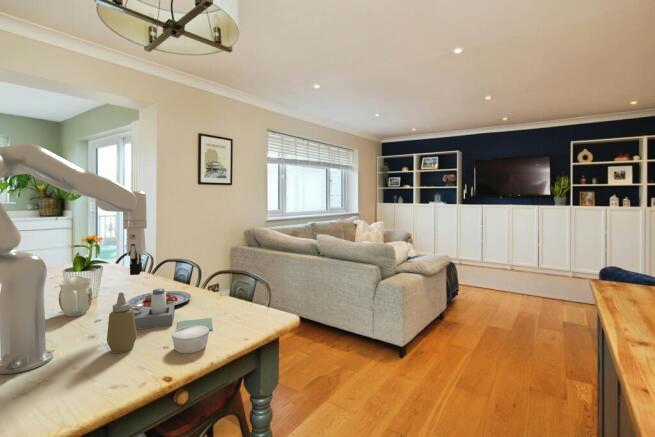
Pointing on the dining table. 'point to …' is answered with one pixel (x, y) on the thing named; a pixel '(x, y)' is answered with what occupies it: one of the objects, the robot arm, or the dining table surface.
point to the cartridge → (158, 301)
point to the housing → (154, 318)
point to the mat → (196, 323)
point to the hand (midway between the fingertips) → (136, 273)
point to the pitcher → (75, 296)
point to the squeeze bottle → (121, 326)
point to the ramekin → (190, 338)
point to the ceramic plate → (171, 298)
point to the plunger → (136, 308)
